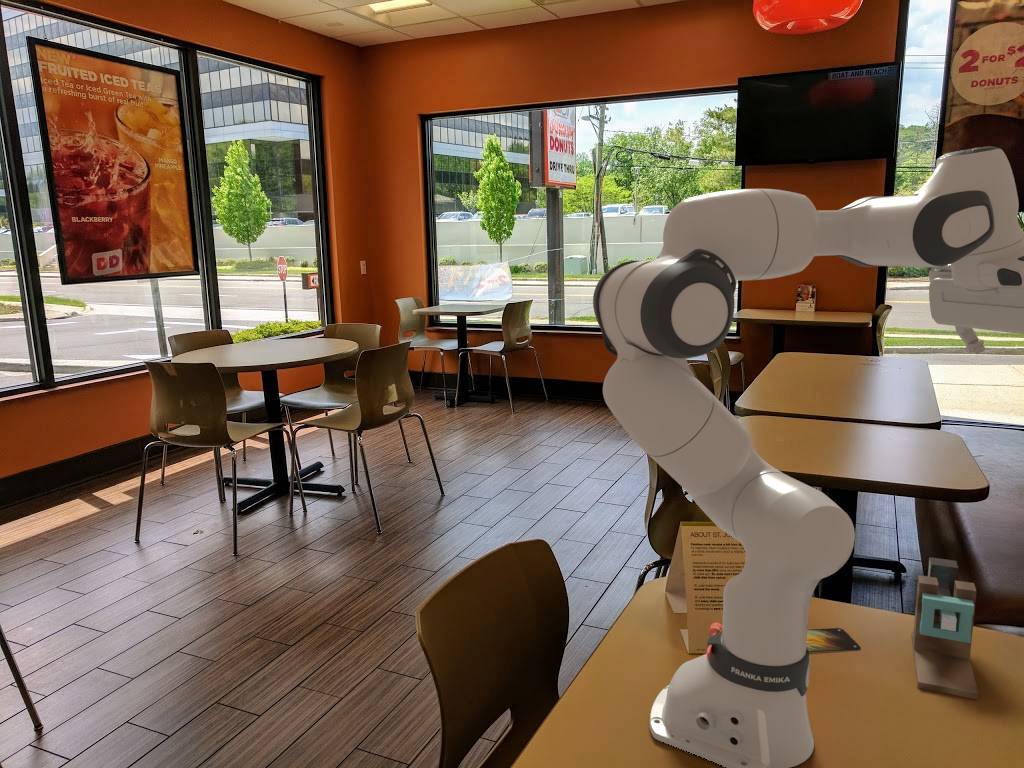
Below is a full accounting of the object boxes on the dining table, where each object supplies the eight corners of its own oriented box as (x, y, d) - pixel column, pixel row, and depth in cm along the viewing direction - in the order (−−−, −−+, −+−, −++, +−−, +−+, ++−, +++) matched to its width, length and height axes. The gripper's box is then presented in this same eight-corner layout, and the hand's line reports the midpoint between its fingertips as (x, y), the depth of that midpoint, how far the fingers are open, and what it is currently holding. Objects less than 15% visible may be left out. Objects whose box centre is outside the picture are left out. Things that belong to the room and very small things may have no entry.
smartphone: (862, 648, 125) (776, 653, 124) (862, 652, 125) (776, 656, 124) (841, 627, 132) (760, 631, 131) (841, 630, 132) (760, 634, 131)
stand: (917, 687, 114) (924, 610, 112) (911, 637, 128) (917, 567, 126) (977, 699, 111) (985, 620, 108) (964, 646, 125) (971, 575, 123)
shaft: (933, 633, 116) (936, 592, 115) (926, 594, 129) (929, 557, 127) (962, 638, 115) (966, 597, 113) (952, 598, 127) (956, 560, 126)
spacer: (920, 634, 120) (923, 598, 118) (919, 628, 121) (922, 592, 120) (970, 643, 117) (974, 606, 116) (968, 636, 119) (972, 600, 117)
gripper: (910, 270, 110) (928, 355, 113) (1040, 275, 90) (1056, 377, 94) (944, 255, 111) (960, 339, 114) (1079, 257, 91) (1094, 358, 95)
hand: (1005, 356), depth 104 cm, fingers open, 8 cm apart
